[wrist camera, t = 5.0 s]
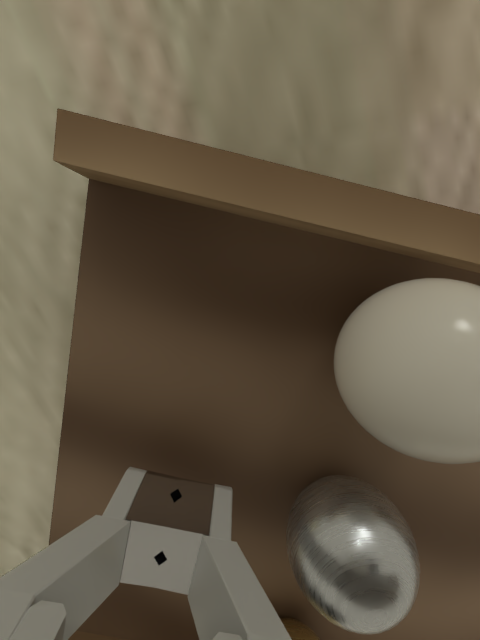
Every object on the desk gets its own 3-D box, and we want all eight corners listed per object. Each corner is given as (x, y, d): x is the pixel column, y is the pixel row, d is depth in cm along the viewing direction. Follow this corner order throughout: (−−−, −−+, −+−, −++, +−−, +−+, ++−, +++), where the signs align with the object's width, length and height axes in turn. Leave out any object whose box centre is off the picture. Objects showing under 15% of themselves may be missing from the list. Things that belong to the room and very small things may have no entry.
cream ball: (338, 258, 8) (430, 260, 4) (473, 290, 8) (681, 321, 4) (300, 388, 9) (346, 491, 5) (423, 414, 9) (561, 534, 5)
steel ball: (294, 440, 9) (324, 544, 6) (394, 461, 9) (478, 573, 6) (268, 526, 10) (281, 660, 7) (362, 544, 10) (421, 685, 7)
